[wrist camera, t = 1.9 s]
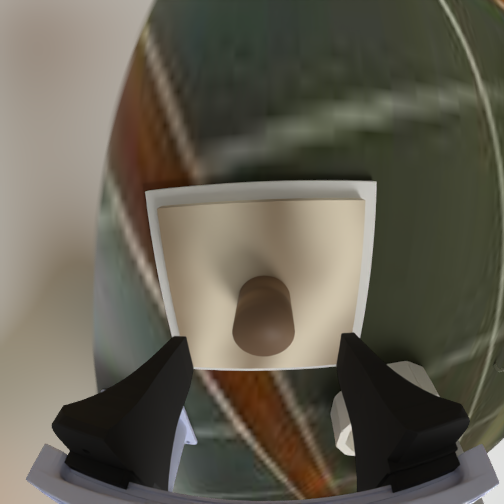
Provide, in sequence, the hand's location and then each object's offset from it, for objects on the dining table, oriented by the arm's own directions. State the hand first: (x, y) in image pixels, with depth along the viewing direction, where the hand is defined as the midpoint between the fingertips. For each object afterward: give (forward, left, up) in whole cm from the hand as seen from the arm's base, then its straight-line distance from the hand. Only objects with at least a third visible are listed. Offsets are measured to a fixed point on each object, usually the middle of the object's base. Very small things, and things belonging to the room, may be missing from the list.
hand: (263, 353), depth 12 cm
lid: (0, 0, -6) cm, 6 cm away
